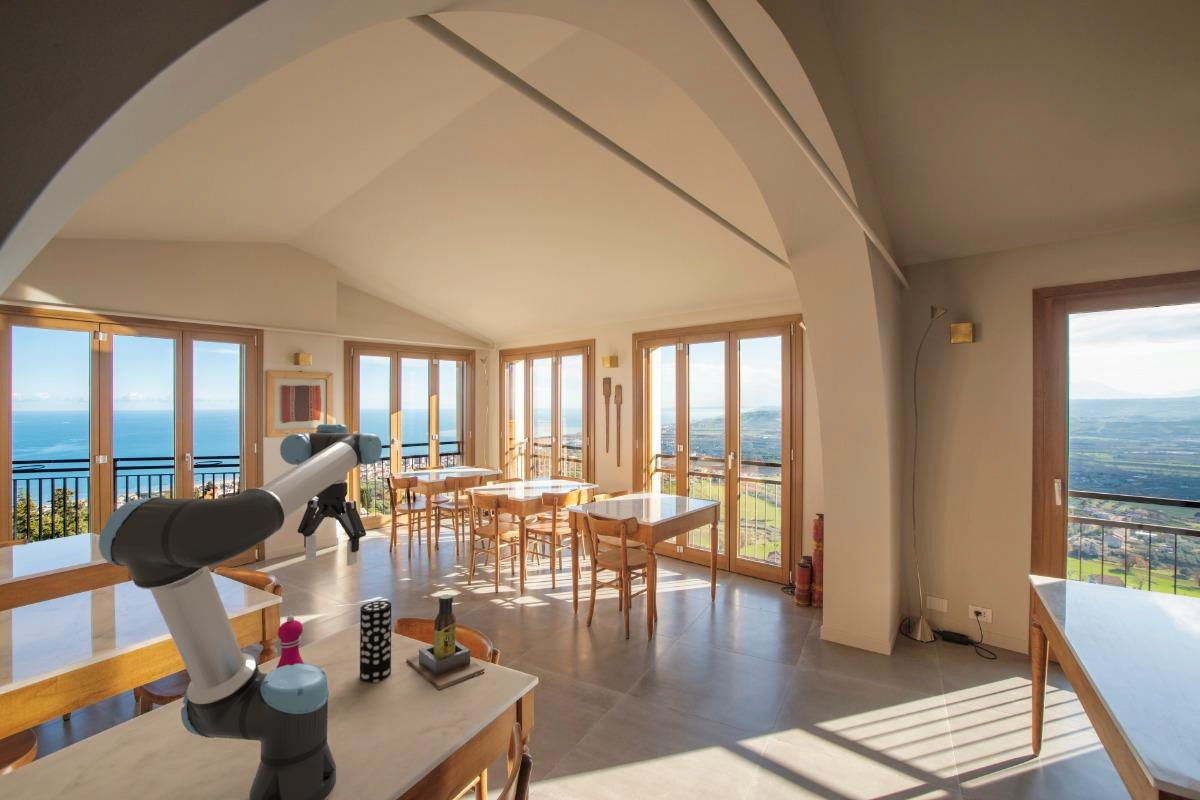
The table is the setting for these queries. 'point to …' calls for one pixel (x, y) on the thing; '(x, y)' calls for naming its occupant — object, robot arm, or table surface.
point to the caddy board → (448, 677)
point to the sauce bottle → (445, 628)
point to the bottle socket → (444, 659)
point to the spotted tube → (375, 641)
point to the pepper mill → (290, 642)
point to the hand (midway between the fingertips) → (331, 562)
